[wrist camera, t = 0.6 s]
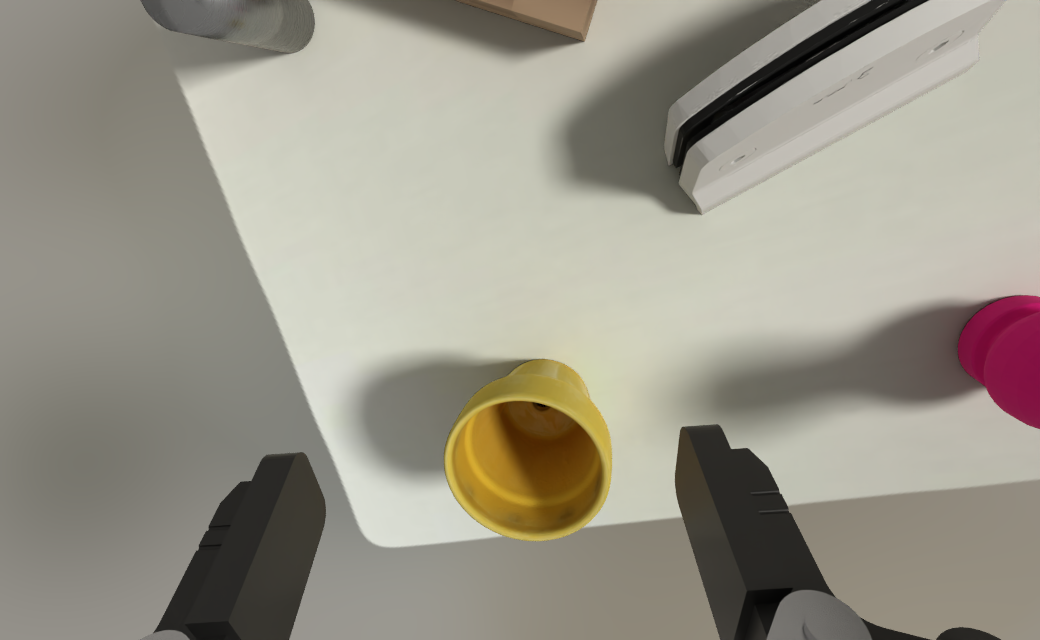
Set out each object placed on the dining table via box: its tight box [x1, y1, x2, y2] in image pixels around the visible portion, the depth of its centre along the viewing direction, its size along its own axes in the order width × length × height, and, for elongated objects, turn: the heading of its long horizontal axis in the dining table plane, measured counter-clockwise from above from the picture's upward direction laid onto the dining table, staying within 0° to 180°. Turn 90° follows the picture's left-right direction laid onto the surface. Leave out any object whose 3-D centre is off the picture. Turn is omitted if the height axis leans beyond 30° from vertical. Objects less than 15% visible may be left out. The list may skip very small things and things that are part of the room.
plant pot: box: [444, 359, 612, 541], centre depth 38 cm, size 10×10×10 cm
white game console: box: [664, 0, 1006, 215], centre depth 30 cm, size 17×5×10 cm, turn 122°
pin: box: [141, 0, 315, 53], centre depth 32 cm, size 4×4×10 cm
